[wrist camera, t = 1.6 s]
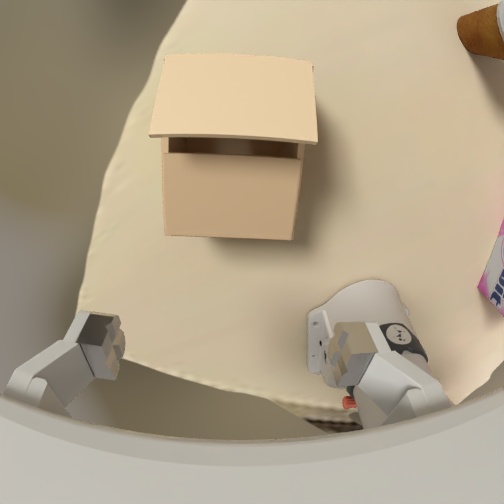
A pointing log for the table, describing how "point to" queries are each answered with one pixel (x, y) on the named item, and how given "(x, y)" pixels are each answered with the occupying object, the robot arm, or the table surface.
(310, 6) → the table surface
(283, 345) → the table surface
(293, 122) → the carton flap
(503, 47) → the disposable coffee cup
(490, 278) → the gum box
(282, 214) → the kraft carton
